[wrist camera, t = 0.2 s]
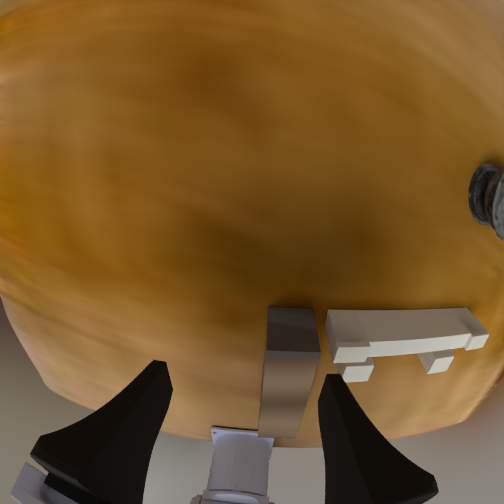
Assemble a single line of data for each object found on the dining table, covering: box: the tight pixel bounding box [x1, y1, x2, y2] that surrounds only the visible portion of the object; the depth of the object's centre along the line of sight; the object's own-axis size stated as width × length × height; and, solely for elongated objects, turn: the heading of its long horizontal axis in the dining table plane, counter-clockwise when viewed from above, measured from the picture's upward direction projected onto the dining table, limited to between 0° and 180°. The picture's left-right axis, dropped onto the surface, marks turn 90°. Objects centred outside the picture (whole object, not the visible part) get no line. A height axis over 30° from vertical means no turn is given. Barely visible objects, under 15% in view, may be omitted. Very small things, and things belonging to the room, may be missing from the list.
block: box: [258, 307, 321, 438], centre depth 21 cm, size 12×4×5 cm, turn 178°
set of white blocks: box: [325, 307, 489, 382], centre depth 19 cm, size 6×15×4 cm, turn 88°
